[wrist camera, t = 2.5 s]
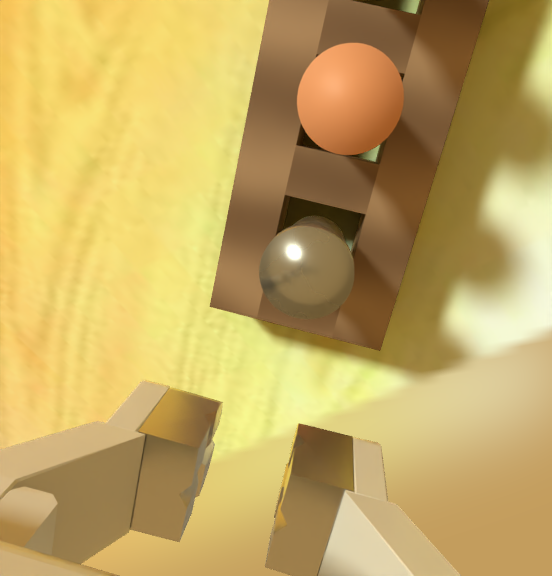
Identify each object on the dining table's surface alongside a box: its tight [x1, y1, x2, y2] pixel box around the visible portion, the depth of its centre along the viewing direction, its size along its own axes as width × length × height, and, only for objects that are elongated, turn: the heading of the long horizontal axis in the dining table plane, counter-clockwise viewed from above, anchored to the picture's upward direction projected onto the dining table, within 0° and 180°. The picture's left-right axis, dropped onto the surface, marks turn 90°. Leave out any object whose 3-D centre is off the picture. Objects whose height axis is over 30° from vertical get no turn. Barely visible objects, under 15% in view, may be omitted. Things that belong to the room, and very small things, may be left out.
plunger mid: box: [297, 43, 404, 155], centre depth 22 cm, size 4×4×6 cm
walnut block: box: [210, 0, 489, 351], centre depth 27 cm, size 24×10×4 cm, turn 167°
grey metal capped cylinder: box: [259, 216, 354, 319], centre depth 24 cm, size 4×4×6 cm
